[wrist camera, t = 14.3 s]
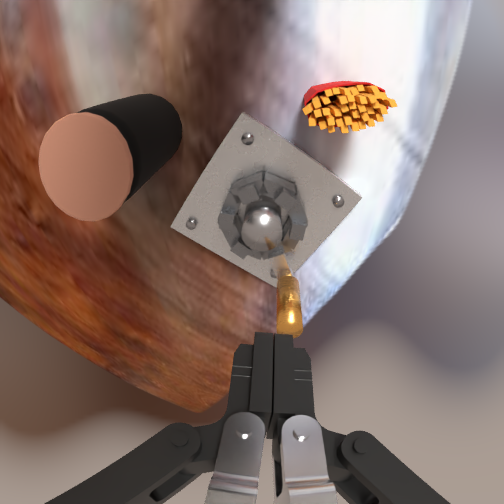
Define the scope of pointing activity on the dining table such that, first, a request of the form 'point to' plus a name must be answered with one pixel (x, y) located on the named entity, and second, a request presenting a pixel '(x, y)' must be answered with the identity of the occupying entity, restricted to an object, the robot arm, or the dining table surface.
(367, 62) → the dining table surface
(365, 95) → the french fries
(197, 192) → the flange plate
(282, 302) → the spiky gray ring
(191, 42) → the dining table surface
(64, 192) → the coffee jar
